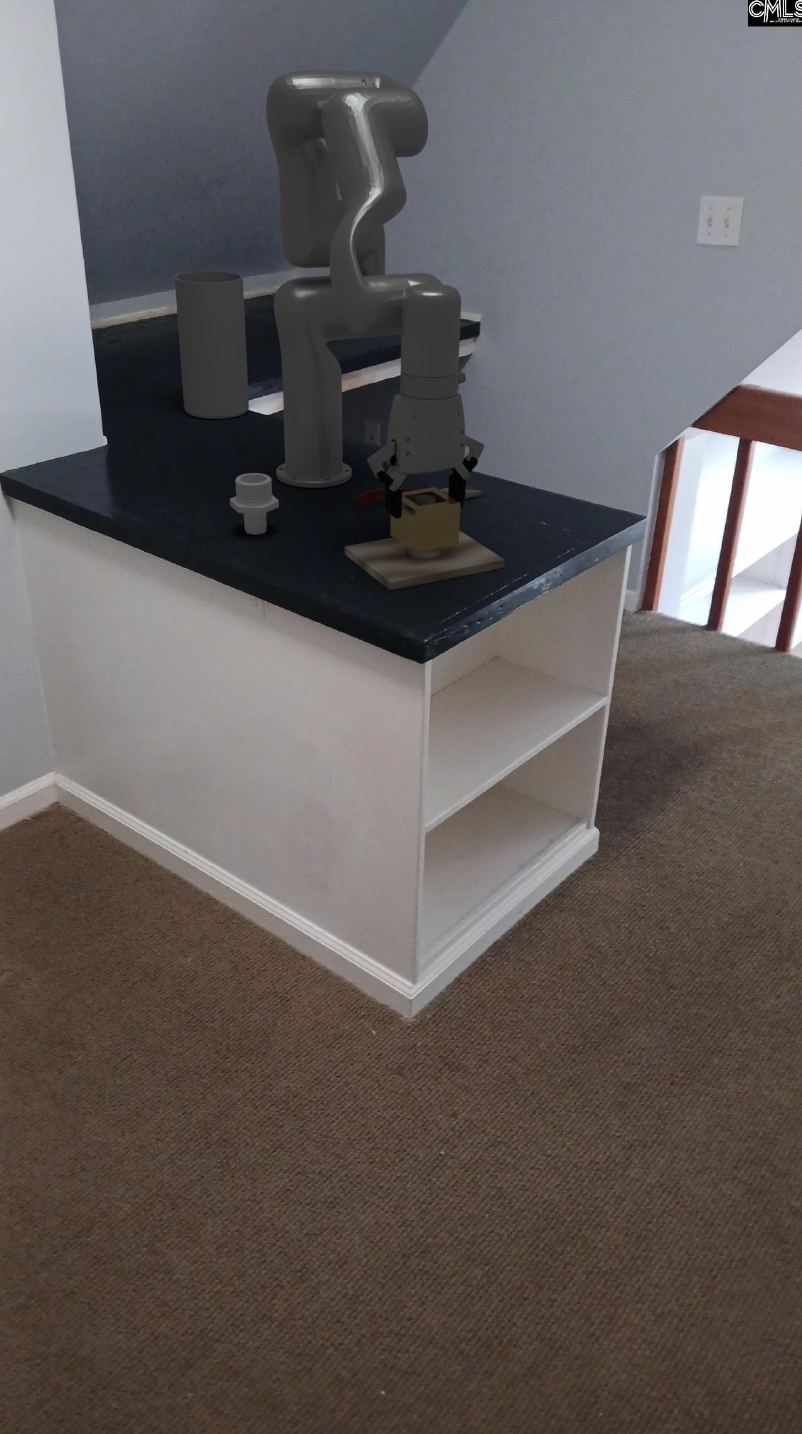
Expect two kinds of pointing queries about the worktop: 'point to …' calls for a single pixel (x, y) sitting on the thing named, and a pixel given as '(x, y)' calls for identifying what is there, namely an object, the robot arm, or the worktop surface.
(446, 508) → the hollow wooden cube
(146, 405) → the worktop surface
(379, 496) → the pliers
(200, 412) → the cylinder vase
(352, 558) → the post stand
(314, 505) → the worktop surface
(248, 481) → the pipe fitting
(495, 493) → the worktop surface
